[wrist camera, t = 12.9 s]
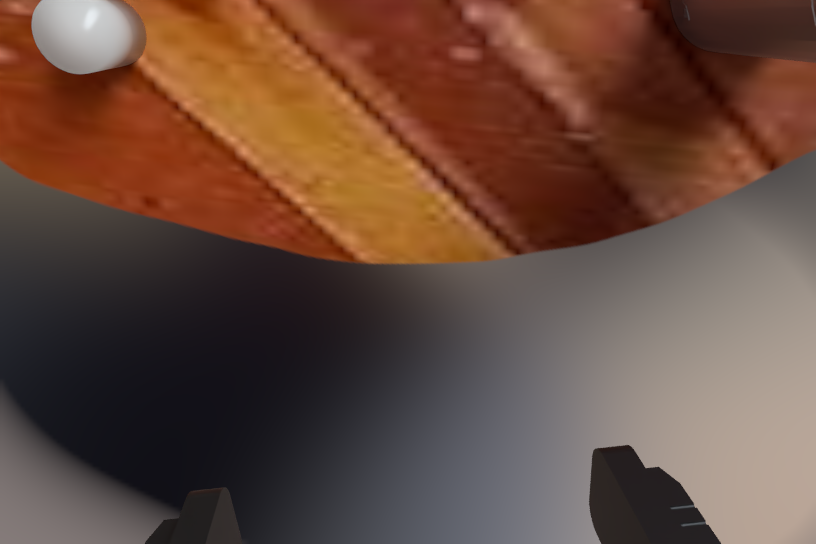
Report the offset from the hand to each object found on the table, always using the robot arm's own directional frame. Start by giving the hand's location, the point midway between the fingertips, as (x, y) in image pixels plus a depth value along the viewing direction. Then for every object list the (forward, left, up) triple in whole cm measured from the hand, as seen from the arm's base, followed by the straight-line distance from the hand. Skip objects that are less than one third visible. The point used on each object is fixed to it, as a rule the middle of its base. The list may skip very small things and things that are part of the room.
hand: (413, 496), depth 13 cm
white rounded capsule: (+17, -10, -34) cm, 39 cm away
